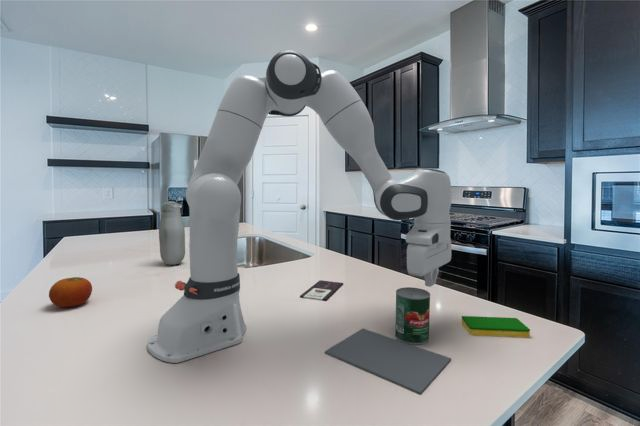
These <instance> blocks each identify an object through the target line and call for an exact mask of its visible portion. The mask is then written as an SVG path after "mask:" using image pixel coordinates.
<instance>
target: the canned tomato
mask: <svg viewBox="0 0 640 426" xmlns="http://www.w3.org/2000/svg"><path fill="white" fill-rule="evenodd" d="M430 305H431V293H430V292H429V290H426V289H423V288H419V287H412V286H411V287H400V288H397V289H396V291H395V318H394V319H395V325H394V327H395V331H394V336H395V338H396V340H399V341H402V342H405V343H408V344H411V345H415V346H416V345H418V346H419V345H423V344H427V343H428V342H429V340H430V314H431V311H430V307H431V306H430Z"/></svg>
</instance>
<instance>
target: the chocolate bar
mask: <svg viewBox="0 0 640 426" xmlns="http://www.w3.org/2000/svg"><path fill="white" fill-rule="evenodd" d="M343 285H344V282H338V281H329V280H321V279H320V280H318V281H317V282H316V283H314V284H313V285H312V286H310V287H309V288H308V289H307V290H306V291H304V292H303V293H302V294H300V295H299V298H300V299H309V300H316V301H323V302H327V301H329V299H331V297H332V296H334V295H335V293H336V292H337V291H338V290H339V289H340V288H342V286H343Z"/></svg>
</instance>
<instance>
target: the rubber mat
mask: <svg viewBox="0 0 640 426" xmlns="http://www.w3.org/2000/svg"><path fill="white" fill-rule="evenodd" d="M324 354H326V355H328V356H330V357H333V358H335V359H338V360H340V361H342V362H344V363H346V364H348V365H349V364H350V365H352V366H354V367H356V368H358V369H361V370H363V371H366V372H368V373H370V374H372V375H374V376H376V377H380V378H381V379H383V380H386V381H388V382H390V383H394V384H395V385H397V386H400V387H402V388H404V389H407V390H409V391H411V392H414V393H416V394H419V395H422V394H423V392H424V391H425V390H426V389H427V388H428V387H429V386H430V385H431V383H432V382H433V381H434V380H435V379H436V377H438V375H440V373H441V372H442V371H443V370H444V369H445V368H446V367H447V365H448V364H449V363H450V362H451V361H452V358H451V357H448V356H446V355H442V354H439V353H437V352H434V351H431V350H428V349H425V348H422V347H420V346H416V345H415V344H408V343H405V342H402V341H400V340H398V339H397V338H396V339H395V338H393V337H389V336H386V335H384V334H382V333H378V332H375V331H372V330H369V329H366V328H361V329H359V330H358V331H355V333H353V334H351V335H349V336H348V337H346V338H344V339H343V340H340V341H339V342H338V343H336V344H335V345H333V346H331V347H330V348H327V349H326V350H324Z"/></svg>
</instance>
